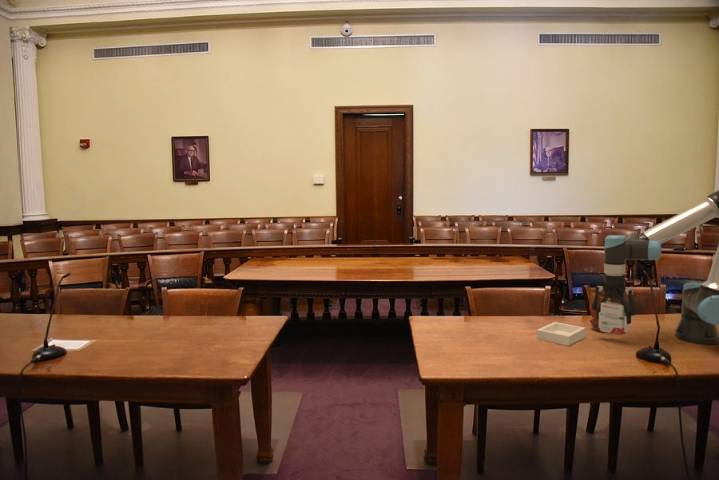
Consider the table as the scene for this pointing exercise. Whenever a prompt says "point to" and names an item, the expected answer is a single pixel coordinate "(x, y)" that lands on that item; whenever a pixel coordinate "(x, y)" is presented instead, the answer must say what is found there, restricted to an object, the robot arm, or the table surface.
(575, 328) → the tray
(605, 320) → the ink box
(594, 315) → the mug
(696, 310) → the robot arm
